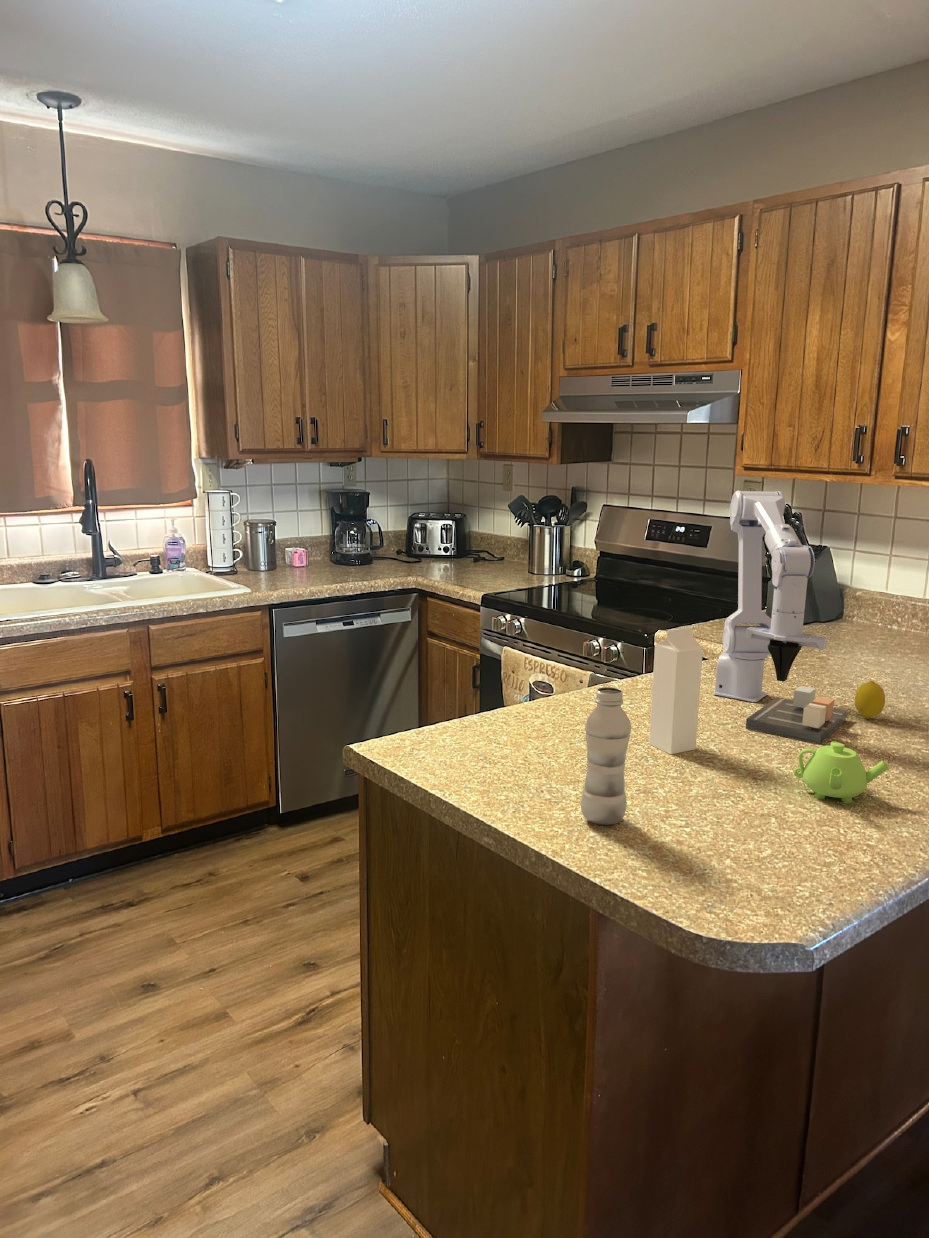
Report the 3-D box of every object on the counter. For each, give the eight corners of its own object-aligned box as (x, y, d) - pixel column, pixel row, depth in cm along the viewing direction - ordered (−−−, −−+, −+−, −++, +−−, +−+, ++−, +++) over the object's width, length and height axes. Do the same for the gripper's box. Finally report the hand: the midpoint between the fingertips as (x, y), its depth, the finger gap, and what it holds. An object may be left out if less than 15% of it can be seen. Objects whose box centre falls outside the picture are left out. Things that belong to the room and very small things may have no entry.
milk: (695, 749, 164) (705, 631, 159) (670, 755, 161) (679, 634, 156) (672, 739, 169) (681, 623, 164) (647, 744, 166) (655, 626, 161)
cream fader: (802, 724, 170) (803, 708, 169) (808, 719, 173) (810, 703, 172) (818, 728, 168) (820, 711, 168) (824, 722, 171) (826, 706, 171)
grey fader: (792, 705, 182) (794, 690, 181) (798, 701, 185) (800, 685, 184) (808, 708, 180) (809, 692, 179) (814, 704, 183) (815, 688, 182)
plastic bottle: (575, 812, 136) (581, 684, 132) (619, 811, 137) (626, 683, 133) (584, 830, 130) (591, 697, 126) (631, 829, 131) (638, 696, 126)
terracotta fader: (810, 717, 174) (812, 701, 174) (816, 712, 178) (818, 696, 177) (826, 720, 173) (828, 704, 172) (832, 715, 176) (834, 699, 175)
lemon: (885, 724, 179) (890, 685, 177) (856, 722, 180) (860, 683, 178) (879, 715, 184) (883, 678, 183) (850, 713, 185) (854, 676, 184)
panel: (745, 728, 175) (746, 718, 175) (775, 706, 189) (776, 697, 189) (820, 744, 167) (821, 733, 167) (845, 720, 181) (846, 710, 181)
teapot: (780, 786, 147) (784, 736, 146) (833, 776, 152) (838, 728, 150) (832, 813, 137) (837, 760, 136) (888, 802, 142) (894, 750, 140)
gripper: (742, 608, 171) (737, 677, 174) (822, 619, 163) (814, 691, 166) (755, 603, 177) (749, 670, 180) (832, 612, 168) (825, 683, 171)
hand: (781, 680), depth 173 cm, fingers closed
